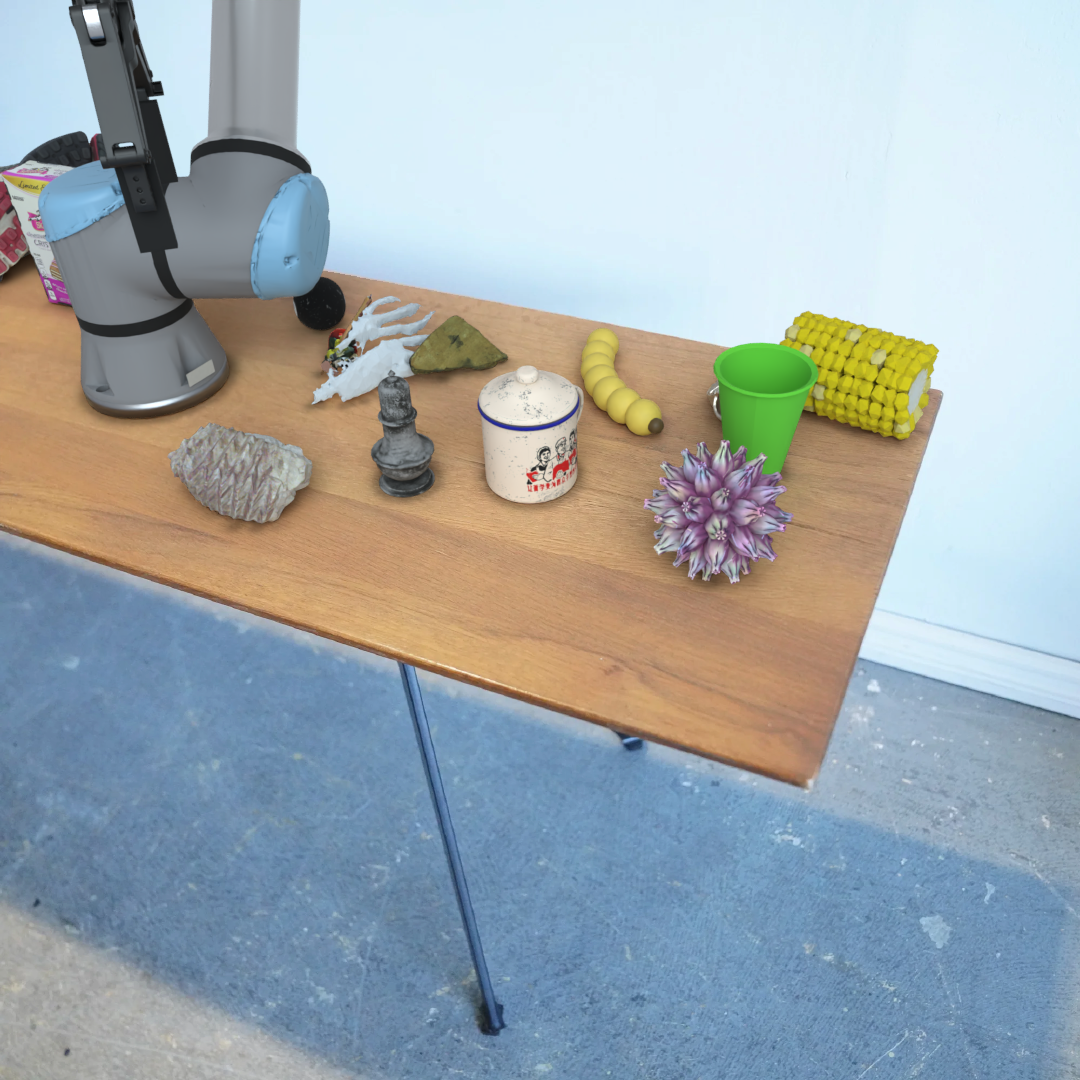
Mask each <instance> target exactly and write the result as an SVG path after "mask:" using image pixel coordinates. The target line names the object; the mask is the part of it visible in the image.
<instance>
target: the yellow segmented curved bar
mask: <svg viewBox="0 0 1080 1080" xmlns="http://www.w3.org/2000/svg"><path fill="white" fill-rule="evenodd" d="M619 340H620V339H619V337H618V335H617V333H616V332H614V331H613V330H612V329H610V328H607V327H599V328H595V329H594V330H593V331H591V332H590V334H589V335H588V337H587V338H586V345H585V346H584V347H583V350H582V351H581V355H580V356H581V363H580V375H581V378H582V380H583V385H584V389H585V391H586V392H587V394H588V395H589V396H590V397H592V400H593V401H594V404H595V406H597V408H599V409H600V410H602V411H604V412H607V414H608V416H609V417H610V419H611V420H613V421H614V422H616V423H618V424H623V425H625V424H626V426H627V428H628V429H629V431H630V432H632V433H633V434H635V435H637V436H649V435H652V434H653V435H659V434H661V433H663V431H664V428H665V423H664V421H663V419H662V418H663V417H662V414H663V413H662V411H661V408H660V406H659V405H658V404H657V403H656V402H655V401H653V400H652V399H648V398H641V395H640V394H639V393H638V391H636V390H635V389H633V388H629V387H628V386H627V384H626V383H625V382H624V380H623V379H621V378H620V377H619V374H618V372H617V371H616V370H615V369H616V368H615V364H614V363H615V361H616V355H617V353H618V352H619V348H620V341H619Z"/></svg>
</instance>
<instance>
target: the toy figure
mask: <svg viewBox="0 0 1080 1080" xmlns="http://www.w3.org/2000/svg"><path fill="white" fill-rule="evenodd" d="M372 296H373V294H370V295H367V296H365V298H364V300H363V302H362V304H361V305H360V306H359V308H358V310H357V312H356V313H355V315H354V316H353V318H352V319H351V320H350V322H349V324H348V325H347V327H346V328H334V330H333V331H331V332H330V334H329V335H328V339H327V350H326V351H327V352H326V354H325V355H324V358H323V361H322V362H321V363H320V369H321V371H320V375H322V376H323V374H324V373H325V372H326V373H329V369H330V368H332V369H333V372H334V374H333V376H334V377H337V376H338V375H339V373H340V371H339V370H338V368H341V369H342V367H344V366H343V364H341V366H340V365H338V364H337V363H339V362H341V361H343V362H344V360H345V361H346V362H350V361H349V360H348V359H350V360H351V362H354V361H355V360H356V357H359V355H358V352H359V351H358V349H357V346H358V341H357V342H356V340H355V339H354V340H352V341H351V343H350V344H349V345H348V347H347V348H345V349H343V350H341V351H340V350H339V348H335V347H336V346H338V345H339V344H340V343H341V342H342V341H343V340H345V339H346V338H348V336H349V332H350V331H351V330H352V323H353V321H358V317H362V316H363V310H365V308H366V307H369V305H371V304H372V303H373V297H372ZM355 344H357V346H355ZM343 357H345V359H342V358H343ZM345 366H346V367H347V368H348V365H347V364H346V365H345ZM347 368H346V369H347ZM334 370H337V371H338V372H336V371H334Z"/></svg>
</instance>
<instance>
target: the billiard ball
mask: <svg viewBox="0 0 1080 1080" xmlns="http://www.w3.org/2000/svg"><path fill="white" fill-rule="evenodd" d="M292 306H293V310H294V313H295V315H296V317H297V319H298V320H299V322H300V323H301V324H302V325H304V326H305V327H306V328H309V329H311V330H314V331H327V330H331V329H333V328H334V327H336V326H337V325H339V324H340V323H341V322H342V320H343V319H344V317H345V315H346V309H347V301H346V297H345V294H344V291H343V290H342V288H341V286H340V285H339V284H338V283H337V282H336V281H334V280H333V279H331V278H328V277H326V276H321V277H320V279H319V281H318V282H317V283H316V284H315V286H314V288H313V289H312V290H310V291H309V292H308V293H306V294H304V295H301V296H296V297H292Z"/></svg>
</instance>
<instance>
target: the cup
mask: <svg viewBox="0 0 1080 1080" xmlns="http://www.w3.org/2000/svg"><path fill="white" fill-rule="evenodd" d="M779 344H780V343H779ZM779 344H778V343H772V342H747V343H743V344H738V345H735V346H732V347H729V348H728V349H726V350H724V351H723V352H721V353H720V354H719V355H718V356H717V357H716V358H715V360H714V363H713V365H712V367H713V374H714V375H715V377H716V379H717V380H718V385H719V397H720V409H721V421H720V422H721V430H722V431H721V432H722V440H726V441H728V440H729V442H730V450H731V453H732V455H734V454H735V453H736V452H737V451H738V449H739V447H740V446H742V445H743V446H745V448H747V453H746V462H748V461H751V460H754V459H755V458H756V457H757V456H758V455H759V454H760V453H763V454H765V456H767V459H766V461H765V462H764V464H763V470H762V474H773V473H776V472H779V474H781V472H782V470H783V467H784V464H785V461H786V458H787V456H788V453H789V450H790V447H791V444H792V442H793V439H794V436H795V433H796V430H797V428H798V424H799V422H800V419H801V416H802V413H803V408H804V405H805V402H806V399H807V396H808V393H809V391H810V388H811V387H812V386H813V385H814V384H815V382H816V381H817V379H818V375H819V374H818V369H817V366H816V364H815V363H814V362H813V360H812V359H811V358H810V357H808V356H807V355H806V354H804V353H802V352H800V351H798V350H796V349H794V348H791V347H788V346H784V345H779Z"/></svg>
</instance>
